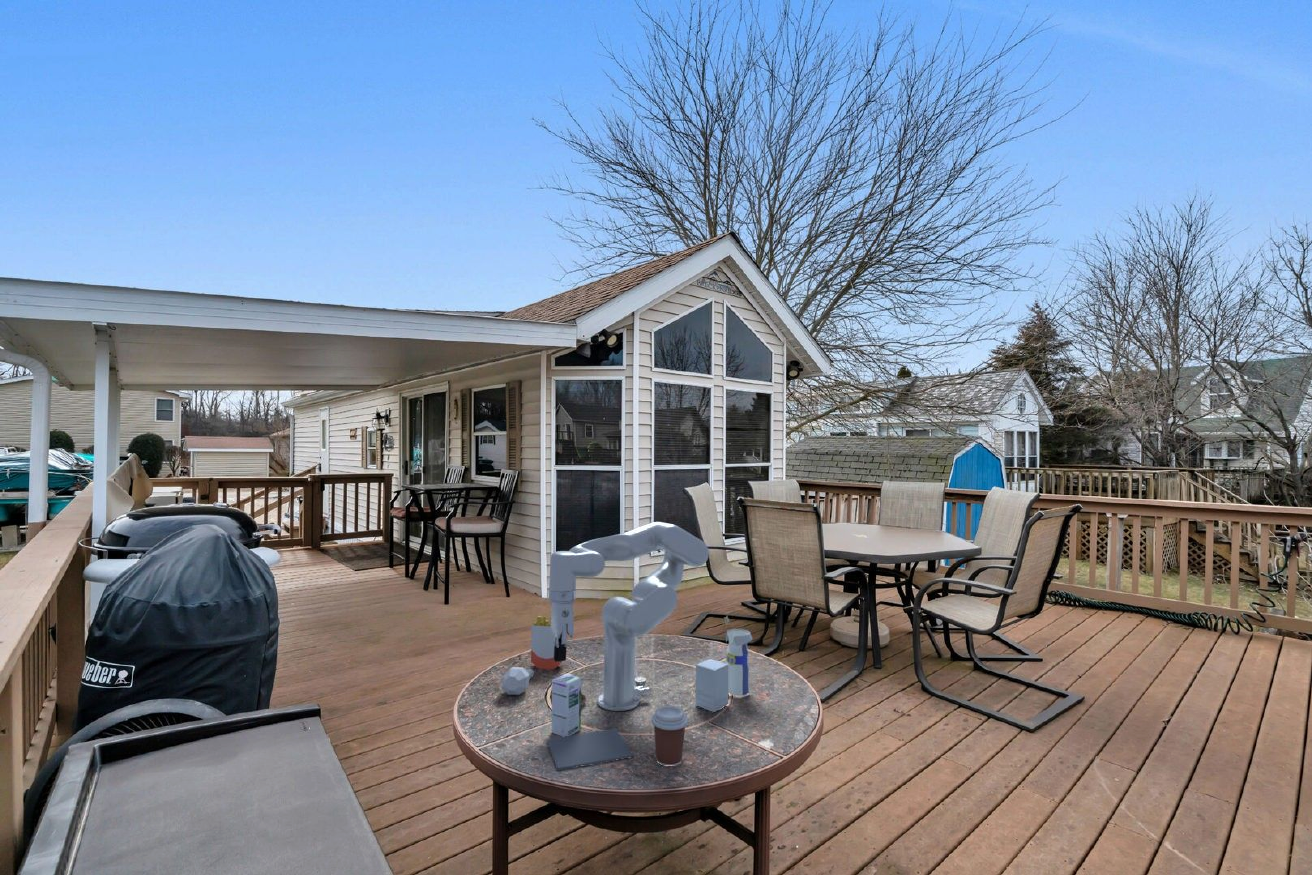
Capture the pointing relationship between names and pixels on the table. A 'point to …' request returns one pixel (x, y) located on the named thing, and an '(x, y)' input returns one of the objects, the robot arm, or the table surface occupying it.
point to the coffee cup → (669, 734)
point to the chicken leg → (516, 680)
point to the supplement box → (711, 684)
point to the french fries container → (543, 645)
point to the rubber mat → (588, 748)
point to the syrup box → (566, 704)
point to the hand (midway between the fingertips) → (559, 660)
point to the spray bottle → (738, 660)
